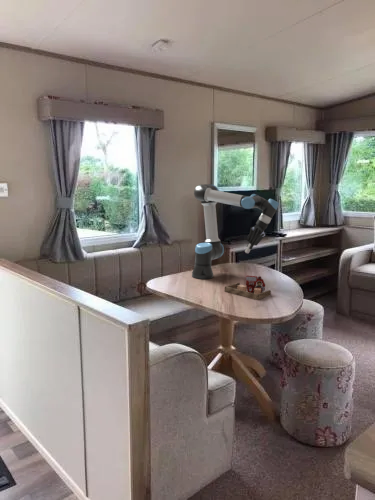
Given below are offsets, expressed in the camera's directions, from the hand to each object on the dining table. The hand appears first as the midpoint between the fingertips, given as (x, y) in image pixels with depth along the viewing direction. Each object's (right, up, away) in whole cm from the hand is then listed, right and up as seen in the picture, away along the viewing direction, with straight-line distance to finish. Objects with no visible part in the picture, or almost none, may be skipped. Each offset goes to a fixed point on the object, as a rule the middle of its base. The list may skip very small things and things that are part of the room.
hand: (246, 252), depth 277 cm
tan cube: (+3, -26, -25) cm, 36 cm away
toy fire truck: (+2, -25, -19) cm, 32 cm away
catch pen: (-3, -25, -22) cm, 33 cm away
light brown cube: (-7, -23, -22) cm, 32 cm away
